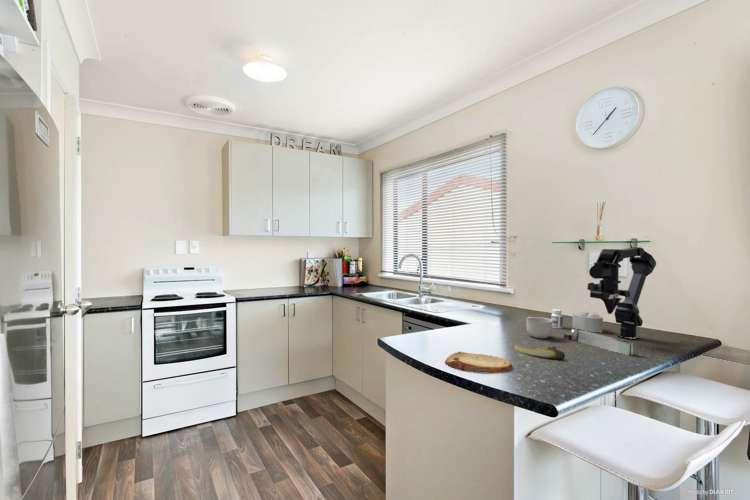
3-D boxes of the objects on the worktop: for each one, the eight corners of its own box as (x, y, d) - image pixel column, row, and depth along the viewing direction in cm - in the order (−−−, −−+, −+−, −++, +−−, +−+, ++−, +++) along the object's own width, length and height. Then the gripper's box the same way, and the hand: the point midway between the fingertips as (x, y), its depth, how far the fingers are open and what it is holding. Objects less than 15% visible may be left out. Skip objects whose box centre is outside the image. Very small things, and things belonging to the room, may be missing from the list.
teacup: (556, 340, 153) (557, 322, 153) (531, 339, 153) (532, 321, 153) (542, 332, 167) (542, 315, 167) (519, 332, 167) (519, 315, 167)
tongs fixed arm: (563, 338, 157) (563, 328, 157) (570, 337, 158) (570, 327, 158) (625, 355, 132) (625, 343, 132) (632, 354, 134) (632, 342, 134)
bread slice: (517, 369, 117) (517, 357, 116) (484, 380, 106) (484, 368, 106) (472, 355, 131) (472, 345, 131) (439, 364, 120) (439, 353, 120)
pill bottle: (560, 326, 181) (560, 309, 181) (564, 328, 176) (564, 311, 176) (549, 326, 181) (549, 308, 181) (553, 328, 176) (553, 310, 176)
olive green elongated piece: (569, 357, 130) (569, 348, 130) (558, 363, 123) (558, 354, 123) (517, 347, 144) (517, 338, 144) (505, 351, 137) (505, 343, 137)
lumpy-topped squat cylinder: (584, 326, 182) (585, 309, 182) (608, 332, 170) (609, 314, 170) (569, 327, 179) (569, 310, 179) (592, 333, 167) (593, 315, 166)
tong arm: (581, 341, 152) (581, 330, 152) (582, 340, 153) (582, 330, 153) (631, 355, 133) (631, 343, 133) (632, 354, 134) (633, 342, 134)
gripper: (605, 275, 165) (604, 309, 165) (578, 277, 157) (578, 312, 157) (631, 277, 154) (630, 313, 155) (603, 279, 147) (603, 316, 147)
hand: (609, 313), depth 154 cm, fingers closed
